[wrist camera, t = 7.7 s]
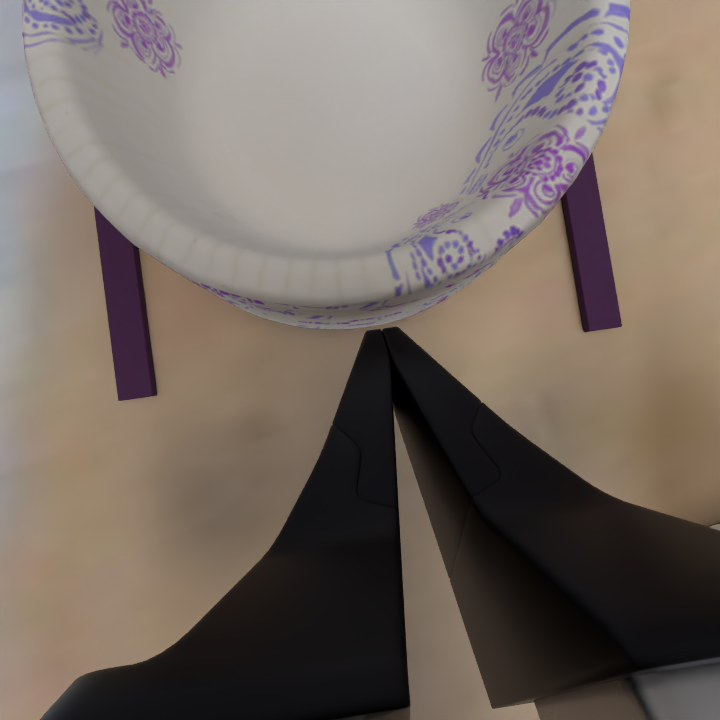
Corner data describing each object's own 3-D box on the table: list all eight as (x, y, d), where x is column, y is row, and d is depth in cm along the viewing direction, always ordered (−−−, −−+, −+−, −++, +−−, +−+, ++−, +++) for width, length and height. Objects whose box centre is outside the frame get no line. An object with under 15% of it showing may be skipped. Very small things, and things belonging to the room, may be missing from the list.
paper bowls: (190, 0, 16) (36, -344, 9) (515, 29, 17) (661, -285, 9) (157, 325, 16) (-39, 279, 8) (492, 353, 16) (625, 335, 8)
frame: (616, 327, 16) (622, 326, 16) (123, 400, 16) (118, 401, 15) (548, -69, 17) (553, -79, 16) (72, -6, 16) (65, -15, 16)
